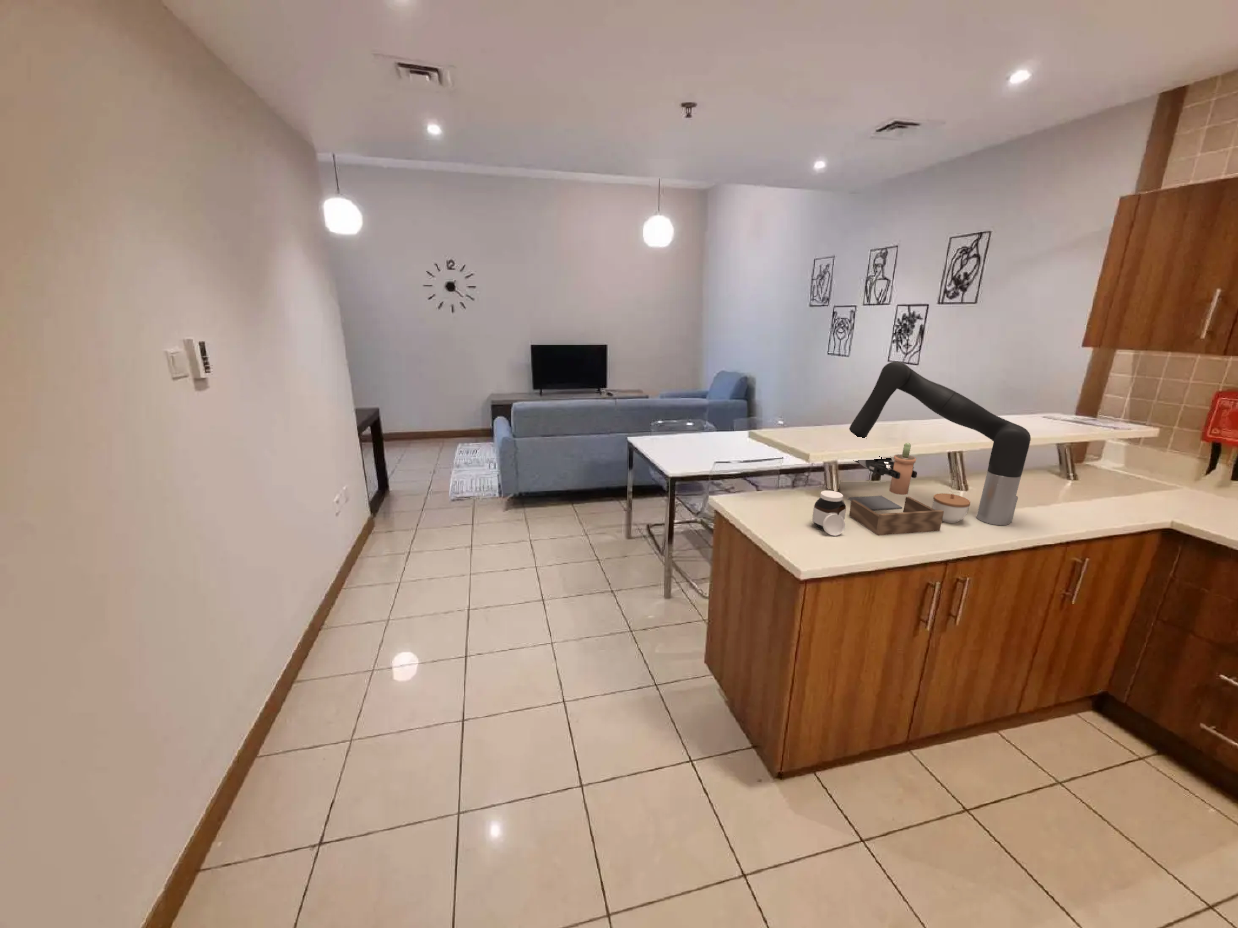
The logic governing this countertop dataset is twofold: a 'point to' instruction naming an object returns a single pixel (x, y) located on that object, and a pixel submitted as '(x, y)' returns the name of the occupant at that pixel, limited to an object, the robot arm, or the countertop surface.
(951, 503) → the lidded jar
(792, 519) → the countertop surface
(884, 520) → the open wooden tray
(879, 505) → the rubber mat
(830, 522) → the spread jar
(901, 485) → the terracotta pot
